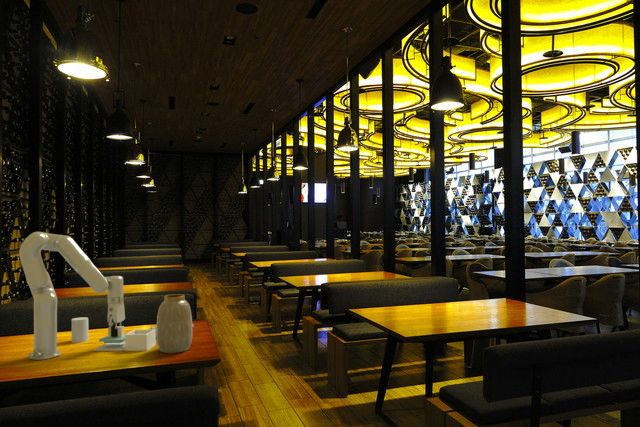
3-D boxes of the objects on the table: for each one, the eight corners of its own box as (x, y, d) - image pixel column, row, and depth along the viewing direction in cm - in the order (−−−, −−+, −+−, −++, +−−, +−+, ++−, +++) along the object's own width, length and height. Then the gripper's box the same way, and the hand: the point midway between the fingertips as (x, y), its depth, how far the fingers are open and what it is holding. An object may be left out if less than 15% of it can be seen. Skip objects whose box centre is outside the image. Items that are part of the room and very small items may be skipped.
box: (146, 350, 230) (146, 334, 230) (125, 350, 230) (125, 334, 230) (155, 344, 241) (155, 329, 241) (134, 345, 241) (134, 329, 241)
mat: (123, 350, 230) (123, 349, 230) (93, 350, 231) (93, 349, 231) (136, 343, 245) (136, 342, 245) (108, 343, 246) (108, 342, 246)
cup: (91, 339, 256) (91, 317, 256) (82, 342, 247) (82, 320, 248) (77, 338, 256) (77, 317, 257) (68, 342, 248) (68, 320, 249)
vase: (199, 346, 237) (198, 293, 238) (180, 355, 220) (180, 298, 221) (169, 344, 242) (169, 292, 242) (149, 353, 225) (148, 297, 226)
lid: (122, 343, 232) (122, 329, 232) (98, 344, 232) (98, 329, 233) (132, 337, 244) (132, 324, 244) (110, 338, 244) (110, 324, 245)
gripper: (115, 302, 230) (115, 339, 230) (129, 297, 247) (130, 332, 246) (100, 302, 231) (100, 339, 230) (115, 297, 247) (116, 332, 247)
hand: (116, 335), depth 238 cm, fingers closed on lid, 3 cm apart
